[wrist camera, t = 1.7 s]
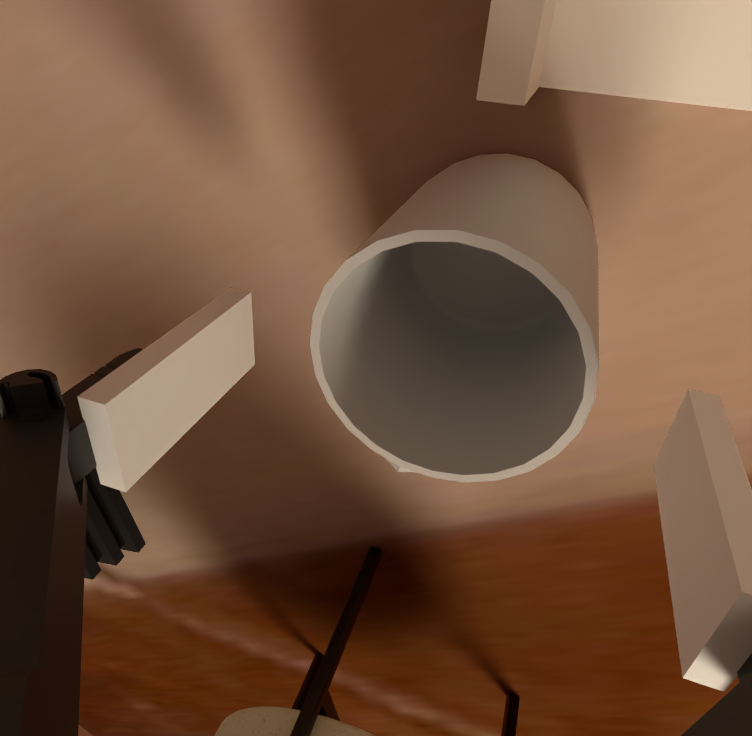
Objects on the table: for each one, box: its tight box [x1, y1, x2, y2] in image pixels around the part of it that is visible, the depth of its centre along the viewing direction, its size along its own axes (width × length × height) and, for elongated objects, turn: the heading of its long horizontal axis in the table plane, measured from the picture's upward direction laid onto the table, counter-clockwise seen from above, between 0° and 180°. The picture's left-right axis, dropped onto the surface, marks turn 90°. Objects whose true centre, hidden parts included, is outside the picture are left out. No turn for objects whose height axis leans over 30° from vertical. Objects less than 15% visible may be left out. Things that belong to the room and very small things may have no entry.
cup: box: [310, 153, 599, 482], centre depth 18 cm, size 7×10×9 cm
